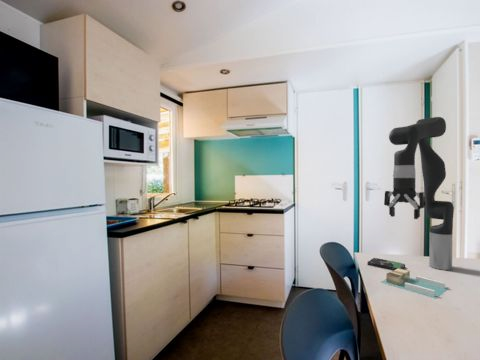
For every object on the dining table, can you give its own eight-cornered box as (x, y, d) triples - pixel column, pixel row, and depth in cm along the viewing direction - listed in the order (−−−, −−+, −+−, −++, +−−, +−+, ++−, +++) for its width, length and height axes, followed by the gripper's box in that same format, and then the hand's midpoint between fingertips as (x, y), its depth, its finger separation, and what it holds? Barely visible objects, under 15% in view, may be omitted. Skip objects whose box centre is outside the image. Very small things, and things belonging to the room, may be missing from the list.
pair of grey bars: (417, 280, 117) (417, 275, 117) (445, 287, 109) (445, 283, 109) (404, 288, 109) (404, 283, 109) (433, 296, 101) (434, 291, 101)
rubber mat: (396, 274, 125) (396, 273, 125) (449, 289, 109) (449, 287, 109) (379, 283, 115) (379, 282, 115) (435, 300, 99) (435, 298, 99)
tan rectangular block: (398, 275, 122) (398, 267, 122) (409, 278, 119) (409, 270, 119) (386, 282, 115) (386, 273, 115) (397, 285, 111) (397, 276, 111)
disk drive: (367, 267, 137) (400, 274, 127) (367, 261, 137) (400, 268, 127) (373, 262, 145) (405, 268, 135) (373, 257, 145) (405, 263, 135)
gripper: (428, 176, 104) (428, 218, 104) (389, 177, 115) (389, 214, 116) (421, 176, 100) (420, 220, 100) (381, 176, 111) (381, 216, 111)
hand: (403, 217), depth 108 cm, fingers open, 8 cm apart
